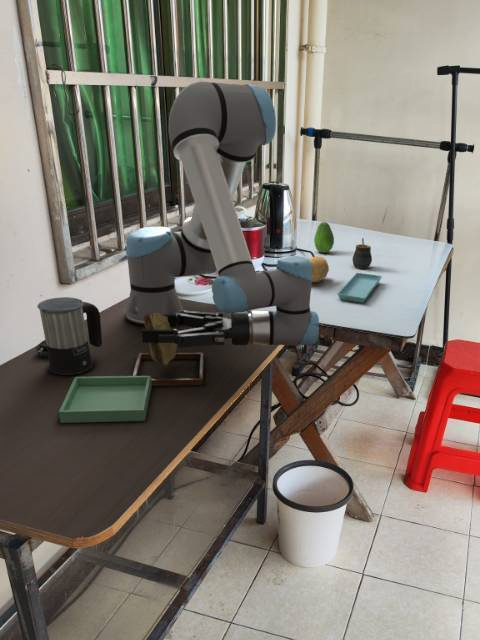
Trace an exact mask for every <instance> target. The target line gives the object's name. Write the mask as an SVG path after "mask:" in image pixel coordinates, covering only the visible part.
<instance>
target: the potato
mask: <svg viewBox="0 0 480 640" xmlns="http://www.w3.org/2000/svg"><path fill="white" fill-rule="evenodd" d="M307 259H308V260H309V261H310V262H311V265H312V283H319V282H321V281H322V280H324V279H326V278H327V275H328V273H329V272H330V268H329V263H328V261H327V260H326V259H325V257H322V256H319V255H318V256H313V257H309V258H307Z"/></svg>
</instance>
